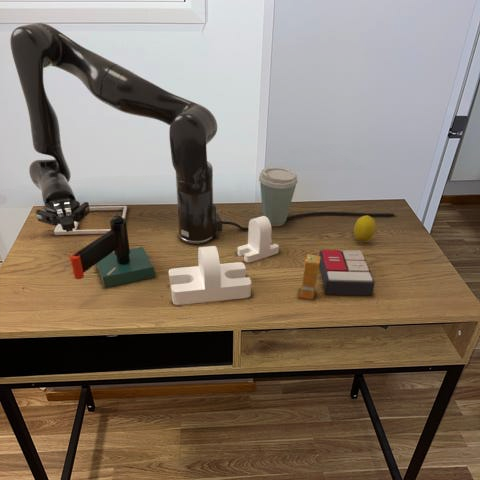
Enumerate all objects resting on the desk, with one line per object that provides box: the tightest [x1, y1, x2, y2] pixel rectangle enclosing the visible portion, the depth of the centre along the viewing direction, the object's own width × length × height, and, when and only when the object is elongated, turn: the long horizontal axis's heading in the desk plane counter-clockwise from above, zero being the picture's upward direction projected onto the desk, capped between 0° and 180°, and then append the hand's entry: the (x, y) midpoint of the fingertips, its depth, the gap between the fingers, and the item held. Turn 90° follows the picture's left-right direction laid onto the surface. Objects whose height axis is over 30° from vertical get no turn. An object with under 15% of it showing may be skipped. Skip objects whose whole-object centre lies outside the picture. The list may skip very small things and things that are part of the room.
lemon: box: [353, 215, 377, 243], centre depth 133 cm, size 6×6×8 cm
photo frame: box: [53, 205, 128, 236], centre depth 140 cm, size 15×1×18 cm
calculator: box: [318, 249, 376, 296], centre depth 120 cm, size 11×4×15 cm
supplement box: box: [299, 253, 321, 300], centre depth 113 cm, size 3×3×10 cm
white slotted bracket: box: [168, 245, 252, 306], centre depth 113 cm, size 10×18×11 cm, turn 102°
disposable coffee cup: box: [258, 166, 298, 227], centre depth 139 cm, size 11×11×15 cm
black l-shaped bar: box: [69, 214, 131, 280], centre depth 110 cm, size 17×4×10 cm, turn 153°
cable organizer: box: [236, 215, 280, 264], centre depth 126 cm, size 5×10×10 cm, turn 122°
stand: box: [95, 246, 155, 289], centre depth 120 cm, size 12×10×5 cm
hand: (69, 227), depth 114 cm, fingers closed
